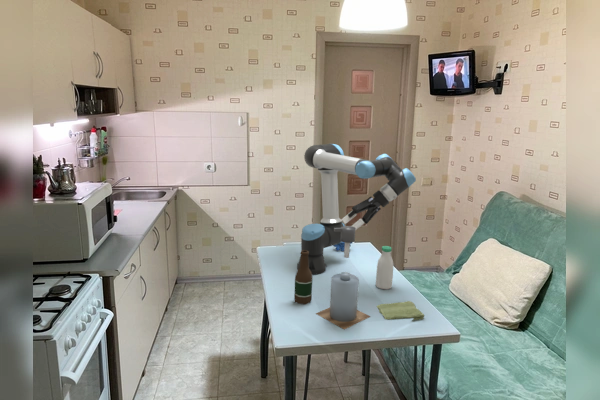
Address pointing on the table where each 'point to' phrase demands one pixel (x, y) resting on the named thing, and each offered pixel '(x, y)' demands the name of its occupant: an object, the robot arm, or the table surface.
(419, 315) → the washcloth
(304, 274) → the beer bottle
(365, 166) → the robot arm
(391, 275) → the milk bottle
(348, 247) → the pump plunger
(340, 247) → the grapes
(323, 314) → the walnut board
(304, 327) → the table surface
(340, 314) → the soap dispenser
